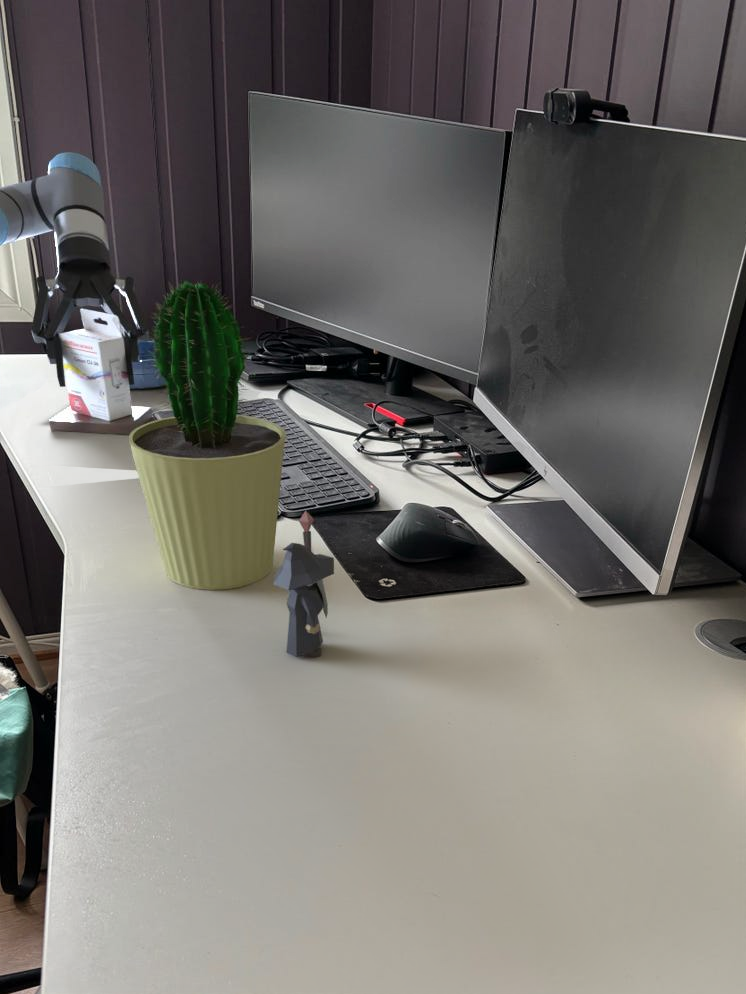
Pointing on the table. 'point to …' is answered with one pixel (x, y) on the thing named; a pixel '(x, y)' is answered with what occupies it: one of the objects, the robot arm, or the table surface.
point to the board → (100, 422)
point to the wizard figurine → (304, 592)
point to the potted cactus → (208, 451)
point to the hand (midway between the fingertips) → (96, 380)
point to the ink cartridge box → (97, 368)
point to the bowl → (143, 375)
